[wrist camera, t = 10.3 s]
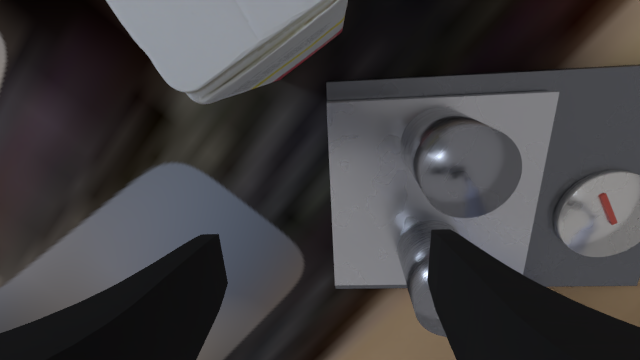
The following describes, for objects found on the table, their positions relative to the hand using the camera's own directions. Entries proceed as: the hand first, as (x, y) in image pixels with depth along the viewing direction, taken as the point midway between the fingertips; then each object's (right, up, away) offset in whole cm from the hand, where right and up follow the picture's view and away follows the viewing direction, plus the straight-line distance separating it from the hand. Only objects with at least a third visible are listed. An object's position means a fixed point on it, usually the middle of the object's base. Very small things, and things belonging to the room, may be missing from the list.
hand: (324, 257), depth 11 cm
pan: (+7, +2, +9) cm, 11 cm away
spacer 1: (+7, -2, +9) cm, 12 cm away
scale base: (+11, +2, +10) cm, 15 cm away
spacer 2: (+6, +5, +7) cm, 11 cm away
